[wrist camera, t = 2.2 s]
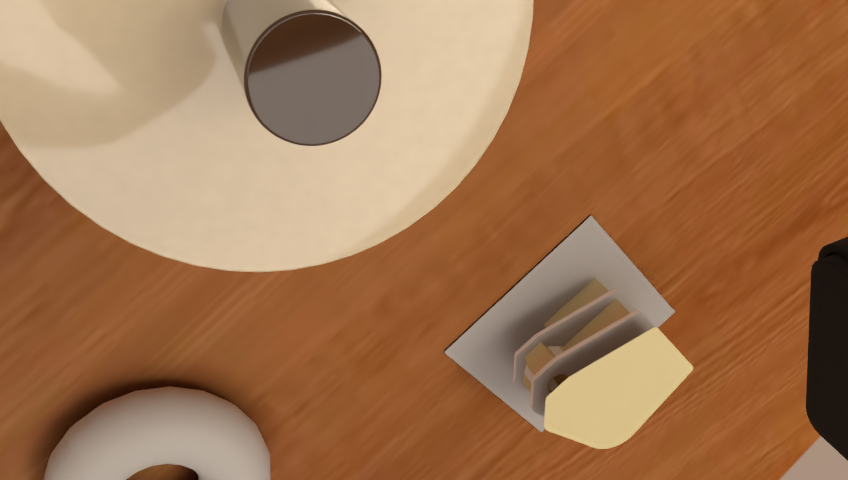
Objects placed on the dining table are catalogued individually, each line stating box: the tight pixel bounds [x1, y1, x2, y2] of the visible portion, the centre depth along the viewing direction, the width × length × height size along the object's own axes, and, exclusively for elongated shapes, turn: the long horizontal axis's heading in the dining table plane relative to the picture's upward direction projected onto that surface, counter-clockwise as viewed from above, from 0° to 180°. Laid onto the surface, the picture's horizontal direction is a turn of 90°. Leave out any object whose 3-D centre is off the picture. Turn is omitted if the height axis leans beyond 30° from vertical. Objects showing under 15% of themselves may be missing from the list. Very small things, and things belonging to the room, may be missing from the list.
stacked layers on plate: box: [444, 216, 693, 449], centre depth 40 cm, size 10×9×6 cm
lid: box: [0, 0, 533, 272], centre depth 20 cm, size 15×15×6 cm
